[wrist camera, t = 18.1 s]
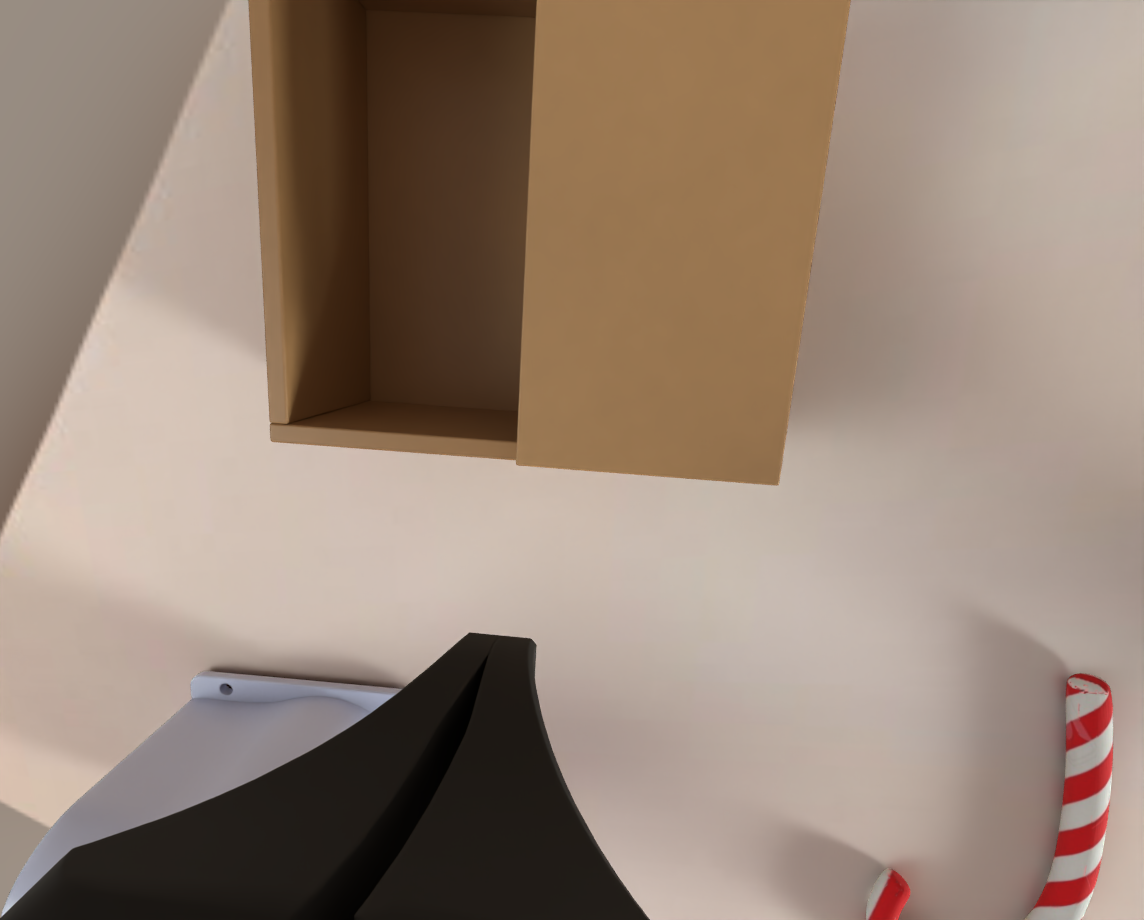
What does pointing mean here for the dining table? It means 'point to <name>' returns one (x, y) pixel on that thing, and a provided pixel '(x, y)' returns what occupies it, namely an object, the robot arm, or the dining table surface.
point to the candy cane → (1080, 814)
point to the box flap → (672, 231)
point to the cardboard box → (393, 219)
